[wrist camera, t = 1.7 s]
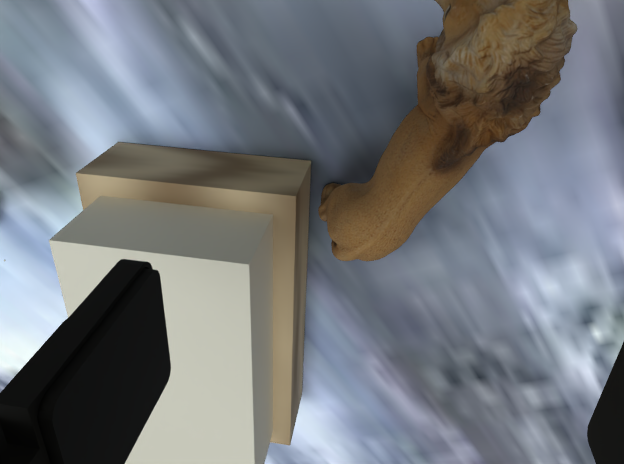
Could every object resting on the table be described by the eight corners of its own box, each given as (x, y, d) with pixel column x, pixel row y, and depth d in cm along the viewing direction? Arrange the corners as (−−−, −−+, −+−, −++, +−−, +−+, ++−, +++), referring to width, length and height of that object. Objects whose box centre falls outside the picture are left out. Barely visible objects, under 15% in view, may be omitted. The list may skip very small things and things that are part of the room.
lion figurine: (439, -76, 20) (458, -79, 12) (564, -18, 20) (656, 14, 13) (304, 225, 28) (263, 339, 20) (396, 264, 28) (390, 391, 20)
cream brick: (272, 214, 23) (249, 264, 20) (273, 430, 30) (255, 495, 27) (100, 195, 24) (48, 240, 20) (139, 409, 31) (106, 469, 28)
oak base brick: (311, 160, 26) (296, 196, 22) (302, 393, 34) (289, 445, 30) (118, 142, 27) (75, 173, 24) (153, 370, 35) (126, 418, 32)
